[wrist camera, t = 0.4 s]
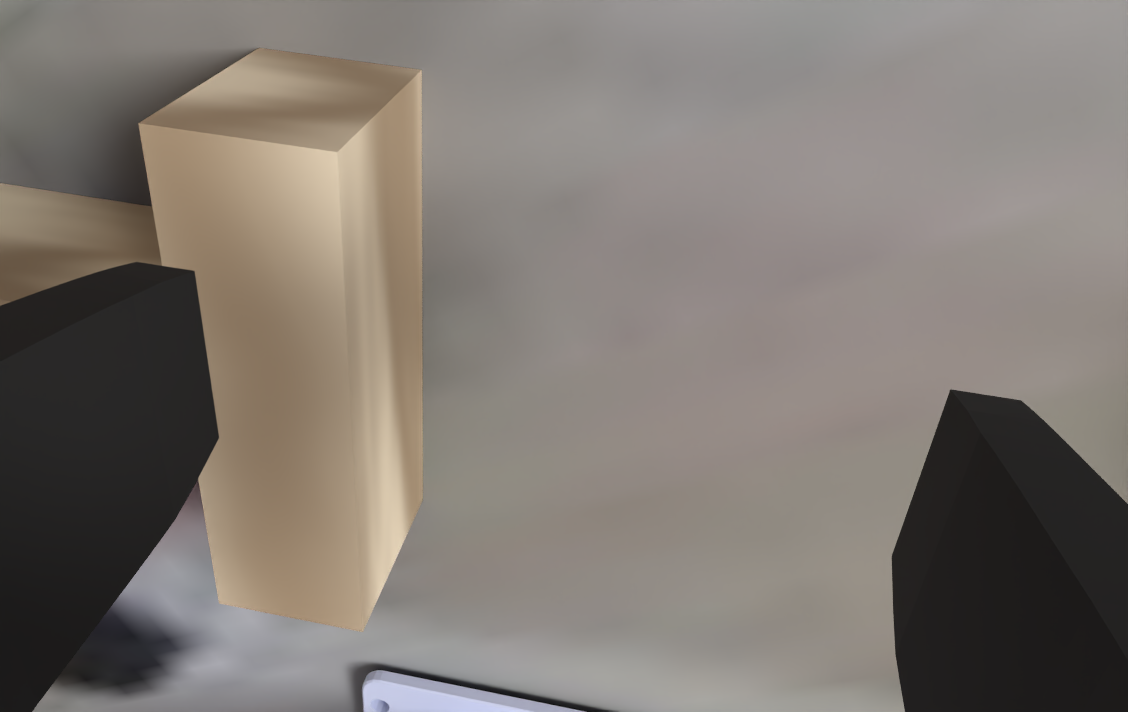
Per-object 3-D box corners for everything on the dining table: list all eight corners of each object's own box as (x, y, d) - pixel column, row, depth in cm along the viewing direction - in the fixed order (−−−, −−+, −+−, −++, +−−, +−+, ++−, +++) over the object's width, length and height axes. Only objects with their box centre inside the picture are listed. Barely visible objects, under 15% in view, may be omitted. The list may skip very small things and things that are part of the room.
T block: (421, 69, 17) (337, 152, 14) (422, 499, 23) (363, 631, 19) (-50, 5, 18) (-235, 68, 15) (61, 433, 24) (-55, 548, 20)
